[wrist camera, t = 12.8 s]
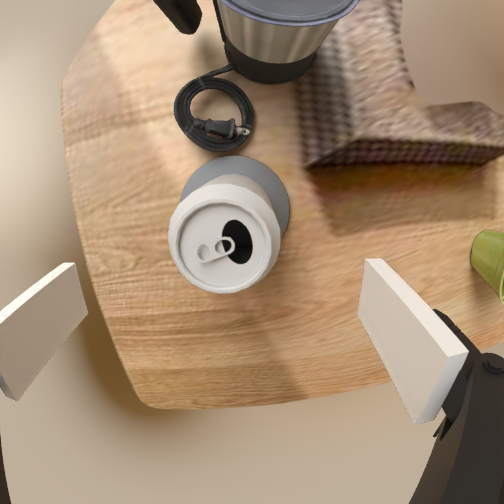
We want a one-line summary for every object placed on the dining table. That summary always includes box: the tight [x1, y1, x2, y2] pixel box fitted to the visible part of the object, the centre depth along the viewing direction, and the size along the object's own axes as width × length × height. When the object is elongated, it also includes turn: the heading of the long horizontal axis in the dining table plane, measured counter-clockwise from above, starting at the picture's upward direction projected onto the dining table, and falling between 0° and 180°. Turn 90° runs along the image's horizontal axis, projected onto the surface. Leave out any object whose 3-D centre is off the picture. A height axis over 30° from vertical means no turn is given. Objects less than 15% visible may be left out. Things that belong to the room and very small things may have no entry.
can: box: [168, 174, 281, 294], centre depth 23 cm, size 8×8×12 cm
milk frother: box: [153, 0, 360, 152], centre depth 18 cm, size 14×16×15 cm
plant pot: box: [470, 230, 504, 306], centre depth 27 cm, size 9×9×9 cm
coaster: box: [180, 156, 289, 239], centre depth 29 cm, size 11×11×1 cm
